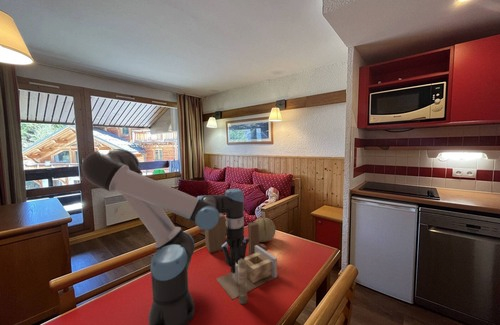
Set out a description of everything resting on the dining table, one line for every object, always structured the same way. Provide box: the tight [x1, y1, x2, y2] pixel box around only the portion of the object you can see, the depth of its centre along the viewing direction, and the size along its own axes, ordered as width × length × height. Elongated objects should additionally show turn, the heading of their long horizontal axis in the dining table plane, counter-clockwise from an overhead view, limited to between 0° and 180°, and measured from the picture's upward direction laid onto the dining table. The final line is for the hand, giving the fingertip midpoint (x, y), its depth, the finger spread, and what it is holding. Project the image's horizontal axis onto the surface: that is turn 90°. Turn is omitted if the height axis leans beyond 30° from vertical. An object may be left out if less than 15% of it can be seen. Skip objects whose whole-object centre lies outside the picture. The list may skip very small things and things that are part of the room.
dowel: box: [238, 259, 248, 305], centre depth 78 cm, size 3×3×16 cm
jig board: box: [215, 271, 279, 300], centre depth 93 cm, size 24×15×1 cm, turn 124°
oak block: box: [244, 252, 272, 283], centre depth 95 cm, size 10×10×6 cm
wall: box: [255, 245, 278, 279], centre depth 98 cm, size 2×15×9 cm, turn 34°
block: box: [204, 213, 227, 254], centre depth 119 cm, size 10×10×20 cm
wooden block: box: [247, 221, 268, 256], centre depth 111 cm, size 9×4×18 cm, turn 112°
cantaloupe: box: [254, 215, 276, 243], centre depth 127 cm, size 15×15×15 cm
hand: (235, 278), depth 89 cm, fingers closed
